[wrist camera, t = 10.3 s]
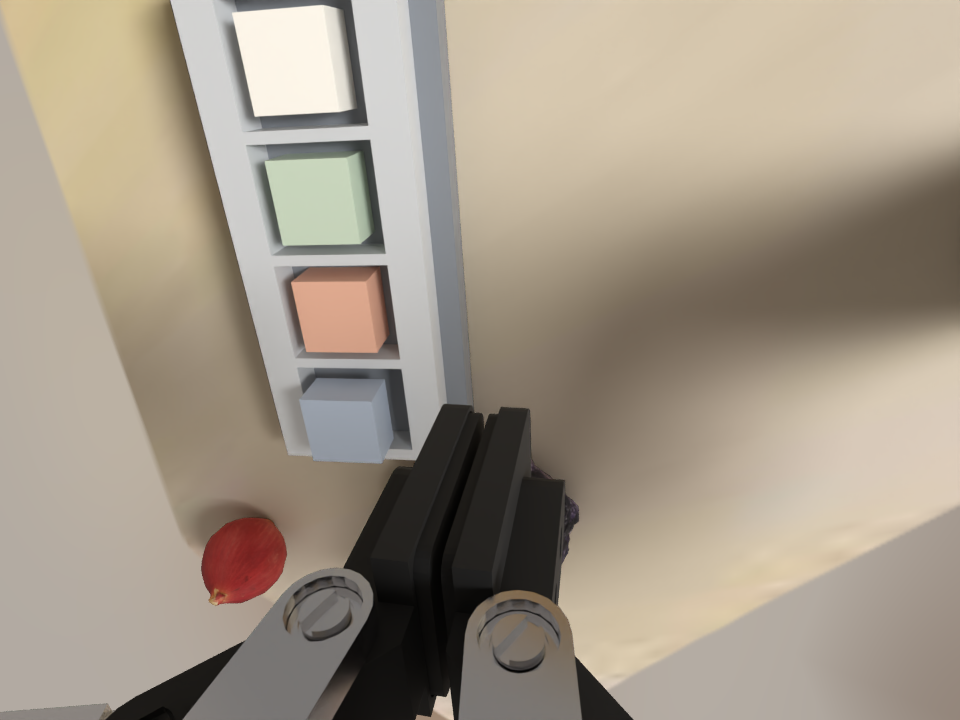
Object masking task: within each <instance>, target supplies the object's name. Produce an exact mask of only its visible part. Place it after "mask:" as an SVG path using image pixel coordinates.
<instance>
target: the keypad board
mask: <svg viewBox="0 0 960 720" xmlns="http://www.w3.org/2000/svg"><path fill="white" fill-rule="evenodd" d="M170 3H171V7H172V10H173V14H174V18H175V22H176V26H177V30H178V34H179V37H180V41H181V45H182V49H183V53H184V57H185V61H186V64H187V68H188V72H189V76H190V80H191V84H192V88H193V91H194V95H195V99H196V103H197V107H198V111H199V115H200V118H201V122H202V126H203V130H204V134H205V138H206V142H207V145H208V149H209V153H210V157H211V161H212V165H213V169H214V172H215V176H216V180H217V184H218V188H219V192H220V195H221V199H222V203H223V207H224V211H225V215H226V219H227V222H228V226H229V230H230V234H231V238H232V242H233V246H234V249H235V253H236V257H237V261H238V265H239V269H240V273H241V276H242V280H243V284H244V288H245V292H246V296H247V300H248V303H249V307H250V311H251V315H252V319H253V323H254V327H255V330H256V334H257V338H258V342H259V346H260V350H261V354H262V357H263V361H264V365H265V369H266V373H267V377H268V381H269V384H270V388H271V392H272V396H273V400H274V404H275V408H276V411H277V415H278V419H279V423H280V427H281V431H282V435H283V437H284V441H285V445H286V448H287V452H288V455H295V456H312V452H311V448H310V444H309V440H308V435H307V431H306V427H305V423H304V418H303V414H302V410H301V406H300V401H299V399H300V398H301V397H302V396H303V394H304V393H305V392H306V391H307V389H308V388H309V387H310V386H311V384H312V383H313V382H314V381H315V379H316V378H342V379H385V385H386V391H387V398H388V404H389V411H390V417H391V424H392V431H393V437H394V439H393V441H392V443H391V446H390V448H389V450H388V452H387V454H386V456H385V458H384V459H395V460H416V459H417V457H418V455H419V453H420V451H421V449H422V447H423V445H424V443H425V441H426V438H427V436H428V434H429V432H430V430H431V428H432V426H433V424H434V422H435V420H436V418H437V415H438V413H439V411H440V409H441V407H442V405H443V404H459V405H472V407H473V410H474V405H473V392H472V378H471V364H470V350H469V337H468V323H467V309H466V295H465V282H464V268H463V254H462V240H461V227H460V213H459V199H458V185H457V172H456V158H455V144H454V130H453V116H452V103H451V89H450V75H449V61H448V48H447V34H446V20H445V6H444V0H170ZM316 5H325V6H330V7H334V8H338V9H342V10H343V11H344V18H345V25H346V32H347V39H348V46H349V53H350V60H351V67H352V74H353V81H354V88H355V95H356V102H357V108H356V109H351V110H347V111H342V112H330V113H312V114H293V115H275V116H257V117H255V116H254V111H253V106H252V102H251V97H250V93H249V88H248V84H247V79H246V74H245V70H244V65H243V61H242V56H241V52H240V47H239V42H238V38H237V33H236V29H235V24H234V20H233V15H232V13H233V12H245V11H257V10H269V9H280V8H292V7H304V6H316ZM342 151H364V158H365V165H366V172H367V180H368V187H369V194H370V201H371V208H372V215H373V222H374V229H375V232H374V233H373V234H371V235H370V236H369V237H368V238H367V239H366V240H364V241H363V242H362V243H361V244H342V245H288V246H283V243H282V239H281V234H280V230H279V225H278V221H277V216H276V211H275V207H274V202H273V198H272V193H271V189H270V184H269V179H268V175H267V170H266V166H265V161H266V160H269V159H273V158H276V157H279V156H282V155H285V154H297V153H319V152H342ZM310 267H380V271H381V278H382V285H383V292H384V299H385V306H386V313H387V320H388V327H389V336H388V337H387V339H386V340H385V342H384V343H383V345H382V346H381V348H380V349H379V351H378V352H377V353H341V352H306V348H305V344H304V339H303V335H302V330H301V326H300V321H299V316H298V312H297V307H296V303H295V298H294V294H293V289H292V285H291V282H292V281H293V280H294V279H296V278H297V277H298V276H299V275H301V274H302V273H303V272H304V271H306V270H307V269H308V268H310Z"/></svg>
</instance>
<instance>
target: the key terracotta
mask: <svg viewBox="0 0 960 720" xmlns="http://www.w3.org/2000/svg"><path fill="white" fill-rule="evenodd" d="M291 285H292V289H293V294H294V298H295V303H296V307H297V312H298V316H299V321H300V326H301V330H302V335H303V339H304V344H305V348H306V352H341V353H377V352H378V351H379V349H380V348H381V346H382V345H383V343H384V342H385V340H386V339H387V337H388V336H389V327H388V320H387V313H386V306H385V299H384V292H383V285H382V278H381V271H380V267H310V268H308V269H307V270H306V271H304V272H303V273H302V274H301V275H299V276H298V277H297V278H296V279H294V280H293V281H292V282H291Z"/></svg>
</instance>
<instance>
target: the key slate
mask: <svg viewBox="0 0 960 720" xmlns="http://www.w3.org/2000/svg"><path fill="white" fill-rule="evenodd" d="M299 401H300V406H301V410H302V414H303V418H304V423H305V427H306V431H307V435H308V440H309V444H310V448H311V452H312V457H313V461H329V462H354V463H378V464H382V463H383V461H384V458H385V456H386V454H387V452H388V450H389V448H390V446H391V443H392V441H393V439H394V437H393V431H392V424H391V417H390V411H389V404H388V398H387V391H386V385H385V379H342V378H316V379H315V381H314V382H313V383H312V384H311V386H310V387H309V388H308V389H307V391H306V392H305V393H304V394H303V396H302V397H301V398H300V399H299Z"/></svg>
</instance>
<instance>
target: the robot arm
mask: <svg viewBox="0 0 960 720" xmlns="http://www.w3.org/2000/svg"><path fill="white" fill-rule="evenodd" d="M564 514H565V480H556V479H544V478H532V477H531V424H530V410H529V409H526V408H509V407H501V408H500V410H499V414H489V416H488V419H487V422H486V425H485V428H484V421H483V415H482V413H474V410H473V407H472V405H459V404H443V405H442V407H441V409H440V411H439V413H438V415H437V418H436V420H435V422H434V424H433V426H432V428H431V430H430V432H429V434H428V436H427V438H426V441H425V443H424V445H423V447H422V449H421V451H420V453H419V455H418V457H417V459H416V462H415V464H414V466H413V468H412V467H400V466H399V467H397V468H396V469H395V470H394V472H393V473H392V475H391V477H390V479H389V481H388V483H387V485H386V487H385V489H384V490H383V492H382V494H381V496H380V498H379V500H378V502H377V504H376V506H375V508H374V510H373V512H372V514H371V515H370V517H369V519H368V521H367V523H366V525H365V527H364V529H363V531H362V533H361V535H360V537H359V539H358V540H357V542H356V544H355V546H354V548H353V550H352V552H351V554H350V556H349V558H348V560H347V562H346V564H345V566H344V567H343V568H330V569H323V570H319V571H316V572H314V573H311V574H308V575H306V576H304V577H303V578H301V579H300V580H298V581H296V582H295V583H293V584H292V585H291V586H290V587H289V588H288V589H287V590H286V591H285V592H284V593H283V594H282V595H281V596H280V598H279V599H278V600H277V602H276V603H275V604H274V605H273V607H272V608H271V609H270V610H269V612H268V613H267V614H266V615H265V617H264V618H263V619H262V620H261V622H260V623H259V624H258V626H257V627H256V628H255V629H254V630H253V632H252V633H251V634H250V636H249V637H248V638H247V639H246V640H245V641H244V642H241V643H239V644H237V645H236V646H234V647H231V648H230V649H228V650H226V651H224V652H222V653H220V654H218V655H216V656H214V657H212V658H210V659H208V660H206V661H204V662H202V663H200V664H198V665H196V666H195V667H193V668H191V669H189V670H187V671H185V672H183V673H181V674H179V675H177V676H175V677H173V678H171V679H169V680H167V681H165V682H163V683H161V684H160V685H158V686H156V687H154V688H152V689H150V690H148V691H146V692H144V693H142V694H140V695H138V696H136V697H135V698H133V699H132V700H130V701H128V702H127V703H125V704H124V705H122V706H121V707H119V708H117V709H116V710H113V711H112V710H111V708H110V707H109V705H108V704H107V703H106V704H94V705H81V706H69V707H56V708H44V709H31V710H19V711H6V712H0V720H415V719H416V716H417V715H423V716H428V717H431V715H432V711H433V707H434V704H435V700H436V696H442V697H446V696H447V694H448V692H449V689H450V690H451V698H452V706H453V715H454V720H633V719H632V718H631V717H630V716H629V714H628V713H627V712H626V711H625V710H624V709H623V708H622V707H621V706H620V705H619V704H618V703H617V701H616V700H615V699H614V698H613V697H612V696H611V695H610V694H609V693H608V692H607V690H606V689H605V688H604V687H603V686H602V685H601V684H600V683H599V682H598V681H597V679H596V678H595V677H594V676H593V675H592V674H591V673H590V672H589V671H588V670H587V669H586V667H585V666H584V665H583V664H582V663H581V662H580V661H579V660H578V659H577V658H576V657H575V653H574V644H573V635H572V631H571V628H570V624H569V621H568V619H567V617H566V616H565V614H564V613H563V612H562V610H561V609H560V607H559V606H558V598H559V586H560V575H561V564H562V552H563V536H564Z"/></svg>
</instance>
